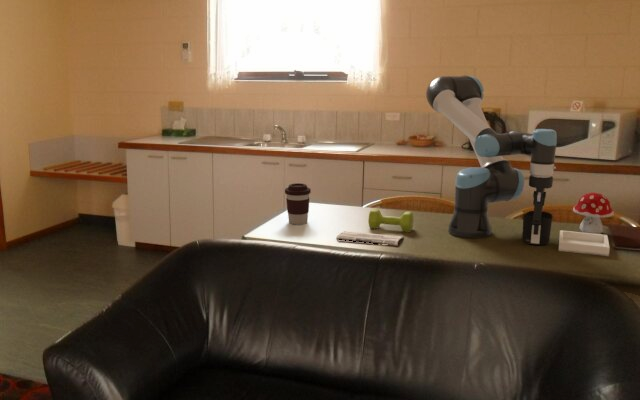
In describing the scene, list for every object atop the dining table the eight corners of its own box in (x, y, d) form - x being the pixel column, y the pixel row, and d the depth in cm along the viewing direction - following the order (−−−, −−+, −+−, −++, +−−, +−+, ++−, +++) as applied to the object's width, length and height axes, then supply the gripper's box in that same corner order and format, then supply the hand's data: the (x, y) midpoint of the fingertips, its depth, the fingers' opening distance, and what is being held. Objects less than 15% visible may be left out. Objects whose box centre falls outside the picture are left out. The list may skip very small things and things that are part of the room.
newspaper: (334, 243, 205) (334, 236, 205) (345, 237, 216) (345, 230, 216) (398, 249, 197) (398, 242, 197) (405, 243, 209) (406, 236, 208)
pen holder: (516, 238, 208) (518, 211, 205) (542, 237, 209) (544, 210, 206) (528, 246, 199) (531, 218, 196) (555, 245, 199) (557, 217, 197)
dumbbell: (366, 230, 219) (366, 211, 217) (372, 224, 226) (372, 206, 224) (410, 234, 213) (410, 215, 211) (414, 228, 220) (415, 210, 219)
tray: (558, 250, 194) (559, 242, 193) (559, 238, 207) (560, 230, 207) (608, 256, 188) (609, 247, 188) (606, 243, 202) (607, 234, 201)
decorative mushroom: (616, 239, 206) (621, 198, 202) (574, 237, 209) (578, 196, 205) (606, 228, 219) (610, 189, 216) (566, 226, 222) (570, 188, 218)
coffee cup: (315, 221, 230) (315, 184, 227) (301, 227, 222) (301, 188, 219) (295, 217, 236) (294, 181, 232) (280, 223, 227) (279, 185, 224)
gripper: (552, 182, 187) (546, 249, 192) (554, 170, 206) (548, 232, 212) (527, 180, 190) (522, 246, 195) (531, 169, 209) (526, 229, 214)
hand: (535, 239), depth 203 cm, fingers closed on pen holder, 9 cm apart
